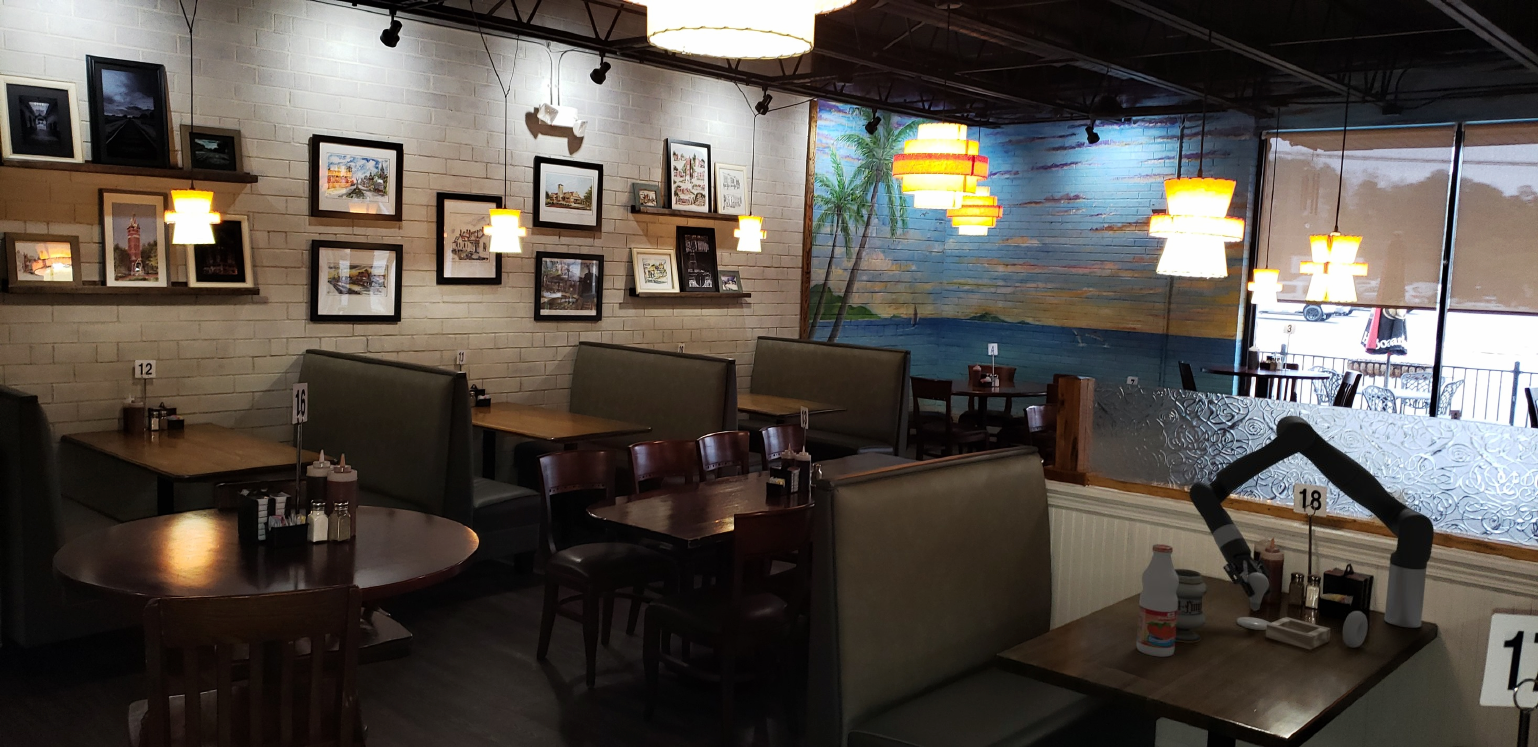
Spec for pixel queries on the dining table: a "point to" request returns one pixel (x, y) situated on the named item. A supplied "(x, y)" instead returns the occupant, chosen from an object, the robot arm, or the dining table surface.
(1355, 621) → the donut
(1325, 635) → the pocket
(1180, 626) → the apothecary jar
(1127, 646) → the dining table surface
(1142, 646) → the fruit juice
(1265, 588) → the lightbulb
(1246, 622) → the white round part
